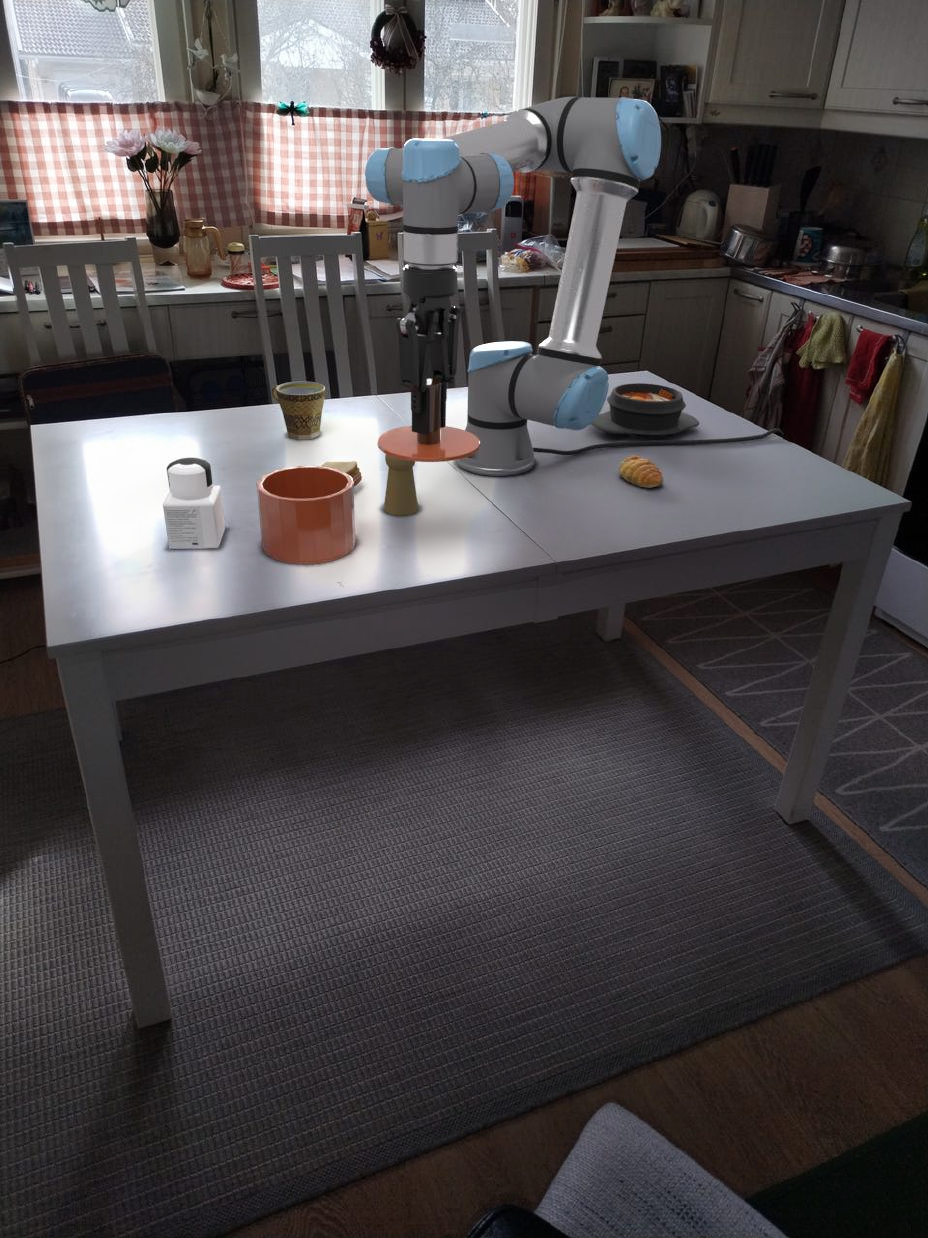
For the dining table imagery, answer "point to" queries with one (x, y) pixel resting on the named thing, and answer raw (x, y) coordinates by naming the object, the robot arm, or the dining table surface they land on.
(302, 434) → the ceramic cup
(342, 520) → the pot
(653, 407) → the casserole
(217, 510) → the container
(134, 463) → the dining table surface
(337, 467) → the toy sandwich meal
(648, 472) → the pastry
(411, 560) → the dining table surface
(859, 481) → the dining table surface
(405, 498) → the olive pawn figure
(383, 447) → the lid
